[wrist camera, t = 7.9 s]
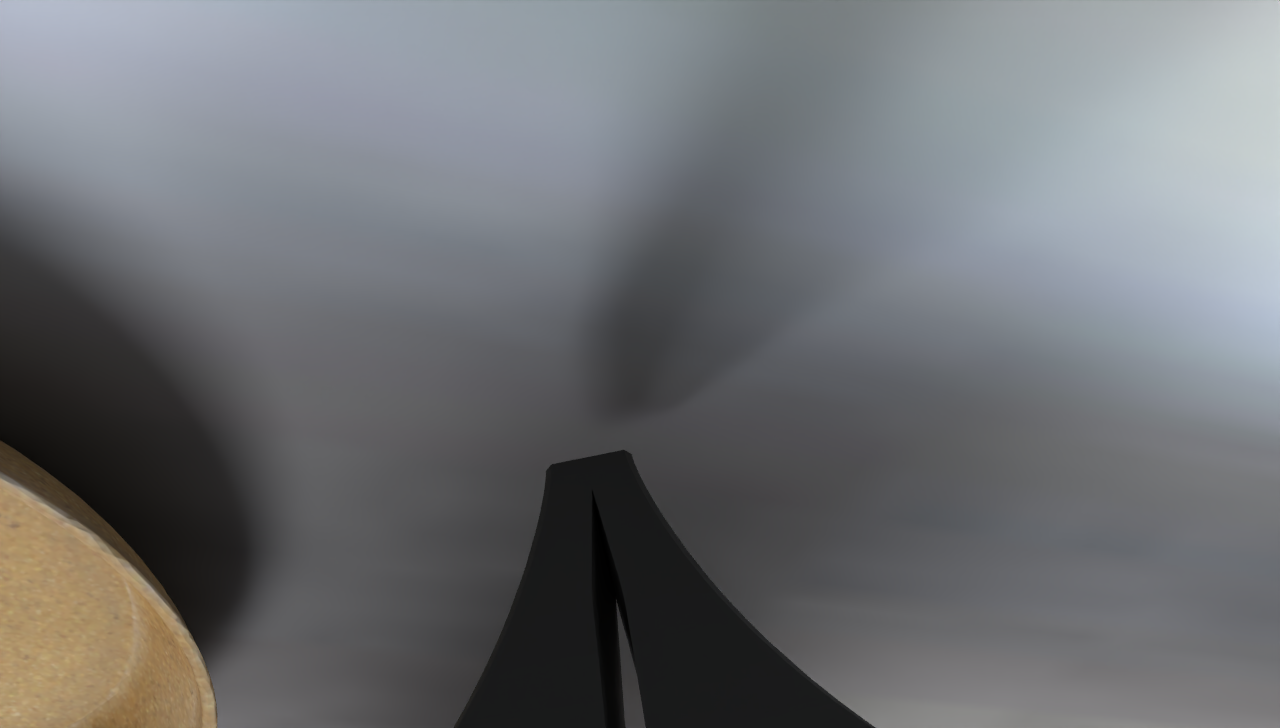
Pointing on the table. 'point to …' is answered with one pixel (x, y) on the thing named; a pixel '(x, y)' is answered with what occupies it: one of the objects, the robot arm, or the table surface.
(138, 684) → the plant saucer
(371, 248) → the table surface
